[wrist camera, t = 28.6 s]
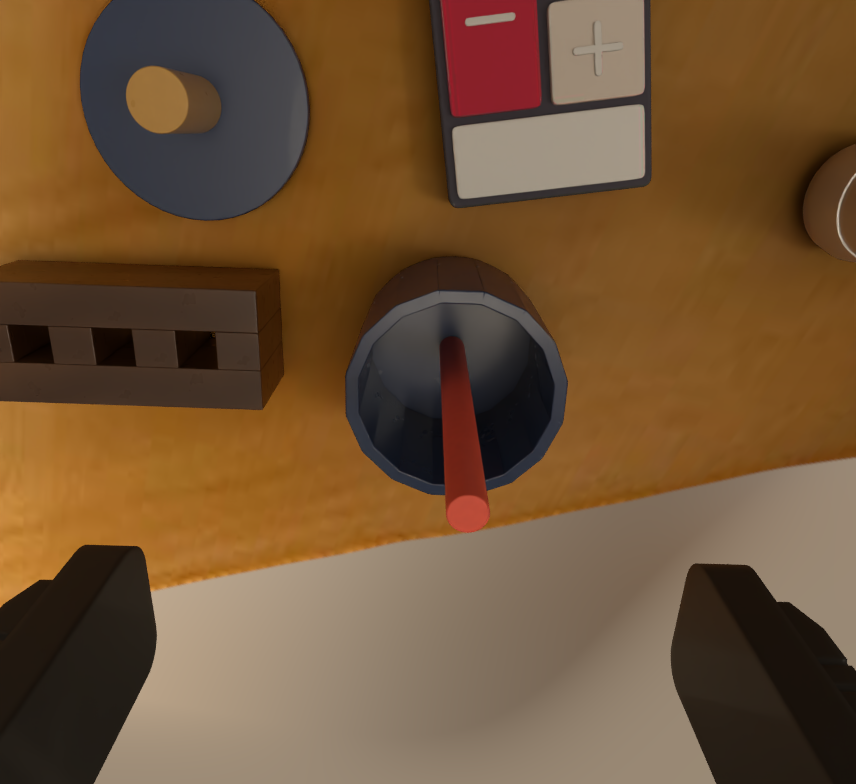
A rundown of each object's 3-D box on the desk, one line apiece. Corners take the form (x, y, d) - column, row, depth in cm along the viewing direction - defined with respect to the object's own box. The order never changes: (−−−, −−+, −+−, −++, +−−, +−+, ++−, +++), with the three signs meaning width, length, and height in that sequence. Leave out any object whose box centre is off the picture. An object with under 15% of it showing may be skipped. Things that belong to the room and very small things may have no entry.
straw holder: (17, 259, 41) (-47, 279, 36) (279, 269, 42) (255, 290, 36) (37, 366, 44) (-20, 400, 38) (284, 375, 44) (262, 410, 39)
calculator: (655, -153, 31) (657, 186, 35) (629, -115, 35) (633, 184, 40) (418, -121, 31) (450, 210, 36) (420, -87, 35) (449, 206, 40)
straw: (439, 335, 43) (447, 494, 24) (464, 336, 43) (491, 496, 24) (438, 359, 43) (445, 532, 25) (463, 360, 43) (488, 533, 25)
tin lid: (73, -27, 36) (-2, -60, 30) (308, -18, 36) (282, -49, 30) (106, 214, 40) (47, 230, 34) (314, 221, 41) (294, 238, 34)
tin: (362, 252, 41) (344, 286, 32) (547, 259, 41) (578, 294, 33) (362, 421, 45) (346, 492, 37) (530, 427, 46) (554, 499, 37)
